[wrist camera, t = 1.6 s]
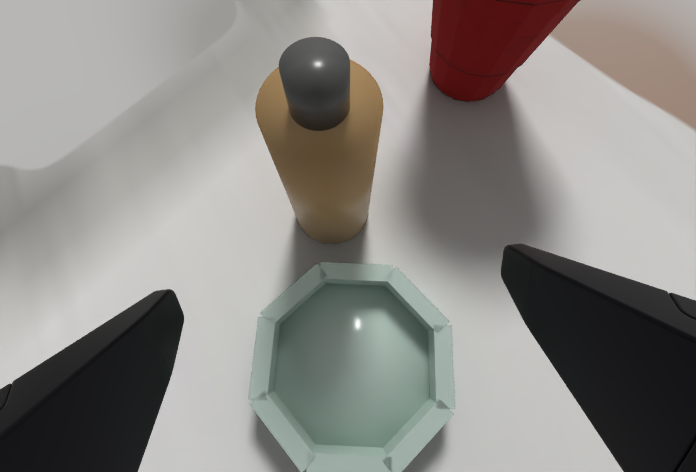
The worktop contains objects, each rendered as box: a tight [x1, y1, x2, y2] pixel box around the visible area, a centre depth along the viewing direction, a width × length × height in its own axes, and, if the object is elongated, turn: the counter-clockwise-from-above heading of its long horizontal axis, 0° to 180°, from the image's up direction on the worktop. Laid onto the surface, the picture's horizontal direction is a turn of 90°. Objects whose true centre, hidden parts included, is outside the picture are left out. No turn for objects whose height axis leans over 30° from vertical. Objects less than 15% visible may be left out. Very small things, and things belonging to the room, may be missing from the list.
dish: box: [248, 262, 455, 472], centre depth 20 cm, size 11×11×2 cm
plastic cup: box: [429, 0, 580, 102], centre depth 22 cm, size 11×11×12 cm
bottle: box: [255, 37, 383, 244], centre depth 18 cm, size 5×5×13 cm
